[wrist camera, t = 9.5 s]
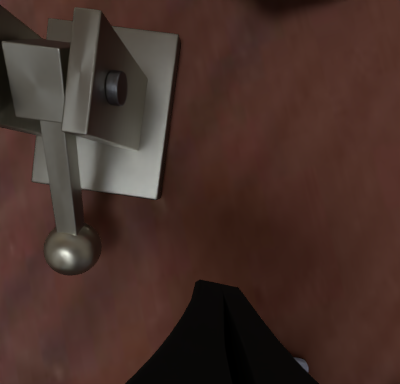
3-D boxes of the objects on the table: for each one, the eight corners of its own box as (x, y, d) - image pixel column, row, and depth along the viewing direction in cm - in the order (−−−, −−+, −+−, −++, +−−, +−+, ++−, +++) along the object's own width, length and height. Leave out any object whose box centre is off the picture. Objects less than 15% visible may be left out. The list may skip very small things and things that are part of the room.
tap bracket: (160, 198, 20) (118, 218, 11) (41, 181, 20) (-93, 187, 11) (181, 42, 19) (153, -70, 10) (58, 26, 19) (-71, -95, 11)
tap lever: (110, 254, 19) (90, 291, 16) (63, 247, 19) (36, 282, 16) (99, 45, 13) (66, 50, 11) (32, 36, 13) (-17, 39, 11)
